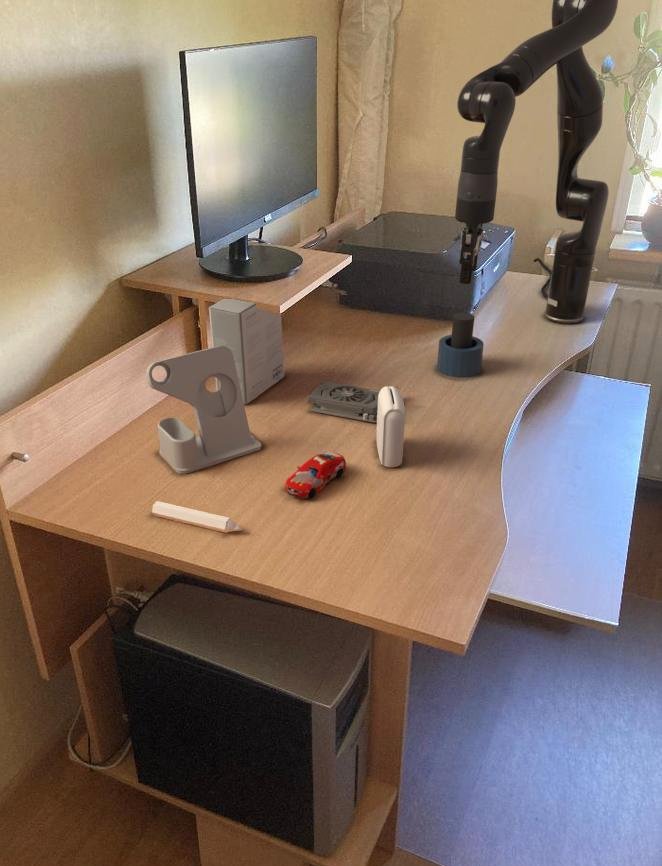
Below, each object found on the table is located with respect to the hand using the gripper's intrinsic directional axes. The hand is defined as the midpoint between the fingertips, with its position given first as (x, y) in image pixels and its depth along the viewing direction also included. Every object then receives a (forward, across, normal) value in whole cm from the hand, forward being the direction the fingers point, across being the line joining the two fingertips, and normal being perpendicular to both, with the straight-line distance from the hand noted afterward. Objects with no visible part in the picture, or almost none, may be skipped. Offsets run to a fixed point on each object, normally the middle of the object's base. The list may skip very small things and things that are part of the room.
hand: (468, 276), depth 161 cm
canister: (+20, 0, 0) cm, 20 cm away
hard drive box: (+21, -21, +41) cm, 51 cm away
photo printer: (+21, -40, +7) cm, 46 cm away
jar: (+21, 0, 0) cm, 21 cm away
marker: (+21, -70, +31) cm, 80 cm away
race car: (+21, -53, +17) cm, 60 cm away
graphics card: (+21, -23, +18) cm, 36 cm away
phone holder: (+21, -48, +39) cm, 65 cm away
